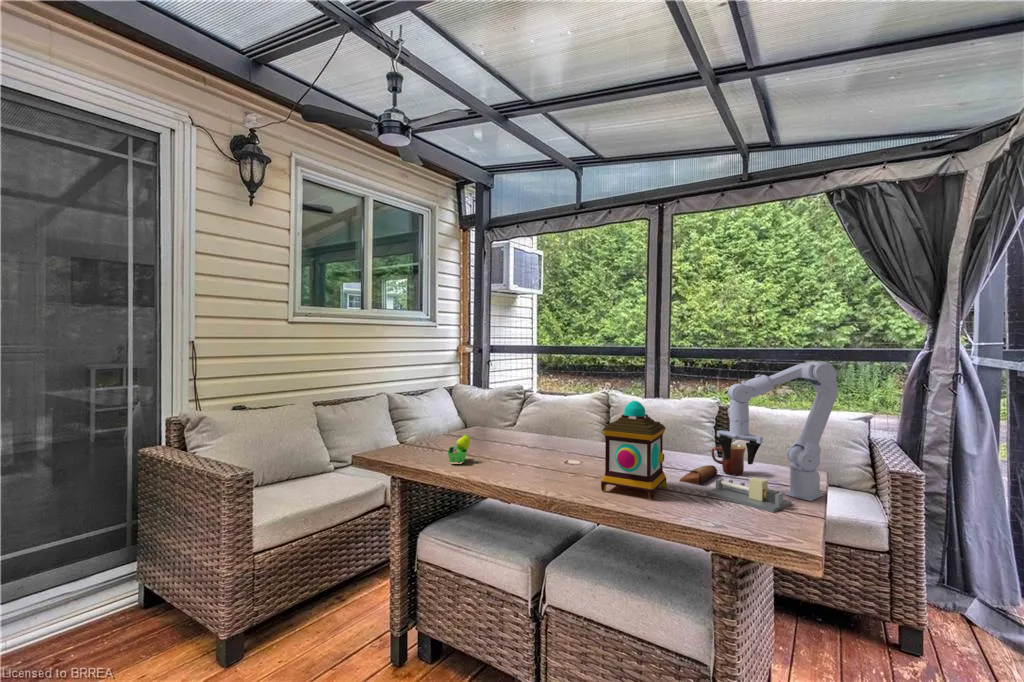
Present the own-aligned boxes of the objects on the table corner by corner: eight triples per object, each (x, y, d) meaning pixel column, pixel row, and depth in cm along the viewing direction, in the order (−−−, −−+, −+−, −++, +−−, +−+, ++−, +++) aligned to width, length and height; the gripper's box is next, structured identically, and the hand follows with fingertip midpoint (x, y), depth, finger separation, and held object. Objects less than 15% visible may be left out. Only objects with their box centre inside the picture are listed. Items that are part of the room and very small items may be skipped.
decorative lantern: (656, 503, 148) (656, 405, 149) (595, 492, 159) (596, 401, 159) (671, 486, 165) (671, 399, 166) (615, 477, 176) (616, 396, 176)
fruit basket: (449, 458, 203) (449, 432, 203) (470, 458, 203) (470, 432, 203) (447, 465, 191) (447, 437, 191) (469, 465, 192) (469, 437, 192)
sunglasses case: (694, 470, 186) (703, 457, 184) (710, 483, 182) (720, 469, 180) (677, 481, 172) (687, 466, 170) (695, 494, 168) (705, 480, 166)
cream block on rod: (748, 497, 150) (749, 479, 150) (754, 495, 153) (754, 477, 153) (761, 501, 147) (762, 482, 147) (767, 499, 149) (767, 480, 149)
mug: (744, 471, 186) (744, 445, 186) (747, 477, 177) (747, 449, 177) (710, 468, 190) (710, 442, 190) (712, 474, 181) (712, 447, 181)
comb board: (706, 494, 157) (706, 480, 157) (725, 487, 164) (726, 474, 164) (773, 512, 140) (773, 497, 140) (791, 504, 148) (791, 490, 148)
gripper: (712, 418, 162) (711, 458, 162) (755, 424, 151) (755, 468, 151) (723, 416, 167) (722, 456, 167) (766, 422, 155) (765, 464, 155)
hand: (738, 461), depth 159 cm, fingers open, 7 cm apart
